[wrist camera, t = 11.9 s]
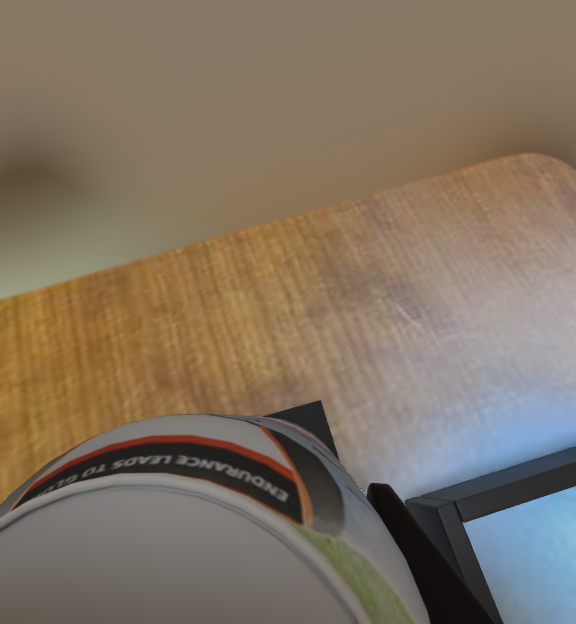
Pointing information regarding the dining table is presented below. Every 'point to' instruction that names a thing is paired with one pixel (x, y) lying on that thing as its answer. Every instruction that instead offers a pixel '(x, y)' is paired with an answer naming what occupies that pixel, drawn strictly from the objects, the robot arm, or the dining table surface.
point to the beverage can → (200, 532)
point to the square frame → (487, 510)
